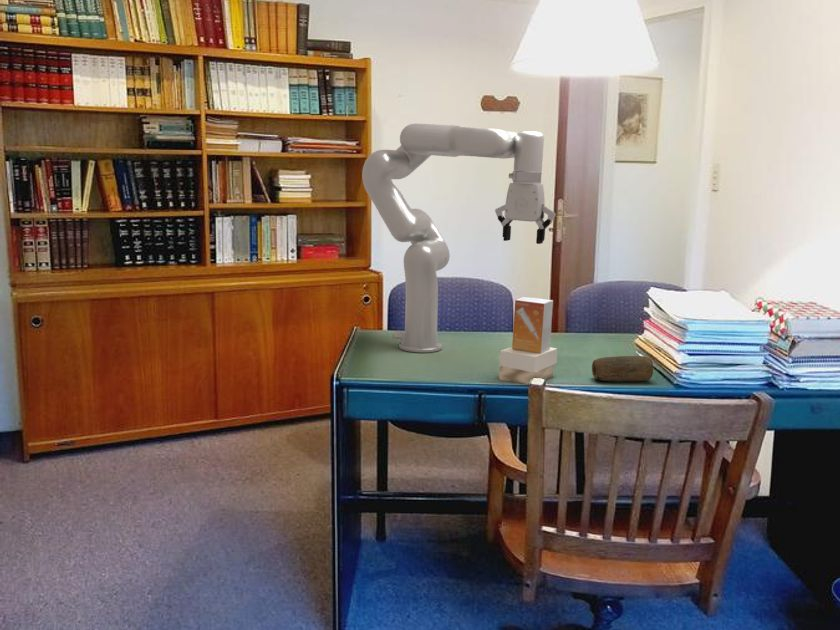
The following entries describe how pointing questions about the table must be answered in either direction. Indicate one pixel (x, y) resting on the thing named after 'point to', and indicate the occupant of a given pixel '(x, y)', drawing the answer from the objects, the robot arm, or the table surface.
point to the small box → (532, 324)
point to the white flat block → (527, 359)
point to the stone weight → (622, 368)
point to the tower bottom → (523, 374)
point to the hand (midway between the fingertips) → (522, 241)
